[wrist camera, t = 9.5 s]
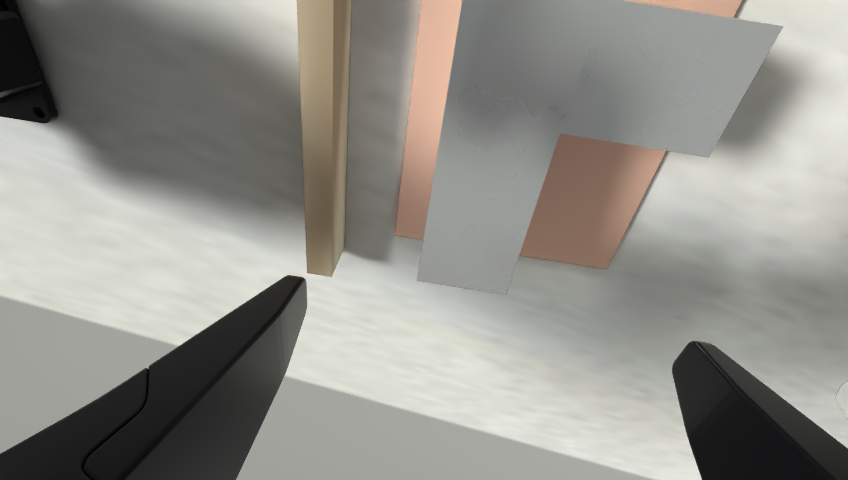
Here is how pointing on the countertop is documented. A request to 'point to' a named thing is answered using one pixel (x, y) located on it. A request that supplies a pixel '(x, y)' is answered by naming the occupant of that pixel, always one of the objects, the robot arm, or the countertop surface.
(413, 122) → the pad
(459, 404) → the countertop surface
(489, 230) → the bracket
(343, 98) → the tan corner rail
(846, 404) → the shot glass
